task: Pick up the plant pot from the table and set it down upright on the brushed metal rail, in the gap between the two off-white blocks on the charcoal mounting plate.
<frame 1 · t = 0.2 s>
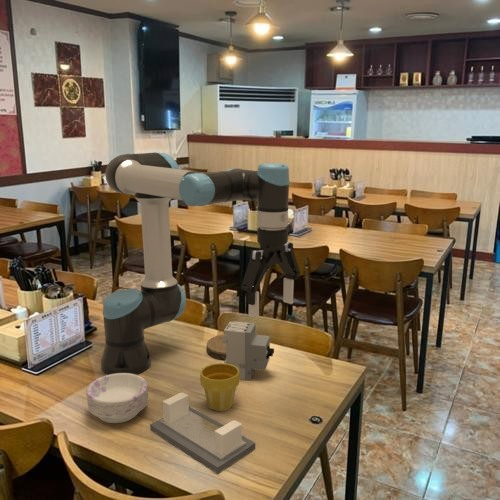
hand: (271, 309, 130), 27 cm above the table, tool pointing down, fingers open, 13 cm apart
wood slice: (230, 352, 171), on the table
mounting plate: (201, 438, 122), on the table
plant pot: (220, 405, 137), on the table
mounted modules: (200, 421, 121), on the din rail, point 5 cm above the table
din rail: (201, 432, 122), on the mounting plate, point 2 cm above the table
circuit breaker: (249, 374, 154), on the table
paper bowls: (119, 414, 133), on the table
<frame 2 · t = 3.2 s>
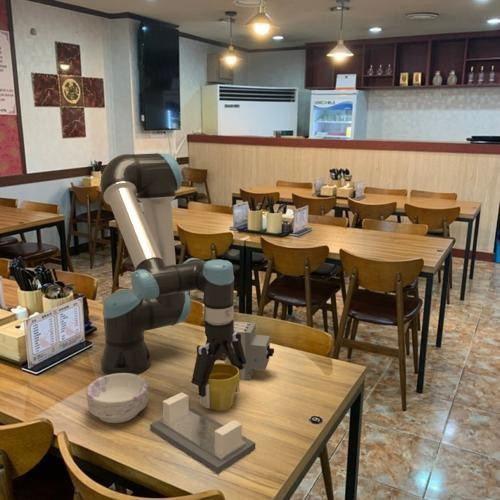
hand: (220, 398, 137), 2 cm above the table, tool pointing down, fingers closed on plant pot, 10 cm apart
plant pot: (220, 405, 137), on the table, touching gripper
everything else where it was.
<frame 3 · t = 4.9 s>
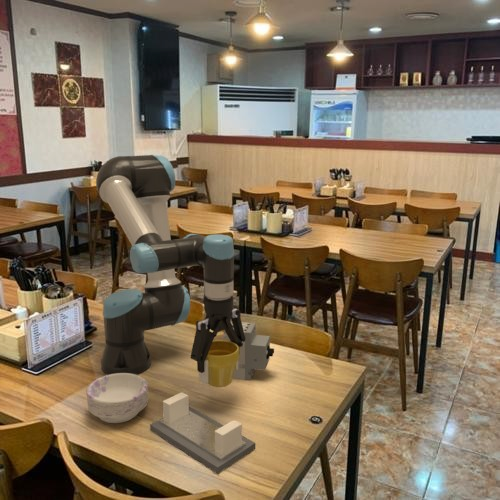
hand: (219, 374, 136), 8 cm above the table, tool pointing down, fingers closed on plant pot, 10 cm apart
plant pot: (219, 382, 136), point 6 cm above the table, touching gripper
everything else where it was.
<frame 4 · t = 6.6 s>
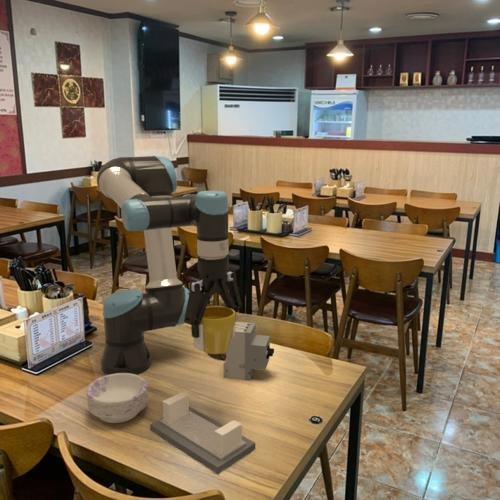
hand: (214, 342, 128), 20 cm above the table, tool pointing down, fingers closed on plant pot, 10 cm apart
plant pot: (215, 349, 129), point 18 cm above the table, touching gripper
everything else where it was.
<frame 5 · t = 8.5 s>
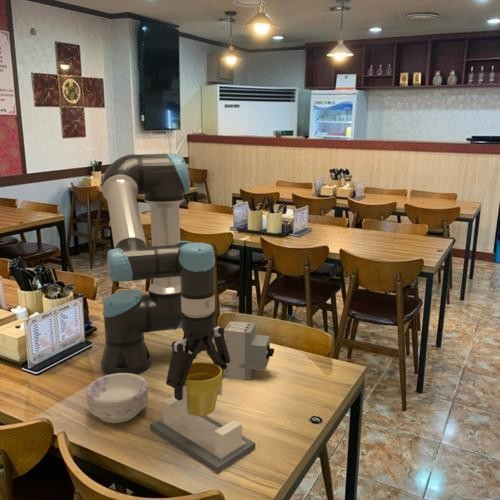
hand: (200, 401, 120), 10 cm above the table, tool pointing down, fingers closed on plant pot, 10 cm apart
plant pot: (200, 409, 120), point 8 cm above the table, touching gripper
everything else where it was.
when the fingers open (5 cm above the table, at t = 10.1 s): plant pot drops 1 cm, resting on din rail.
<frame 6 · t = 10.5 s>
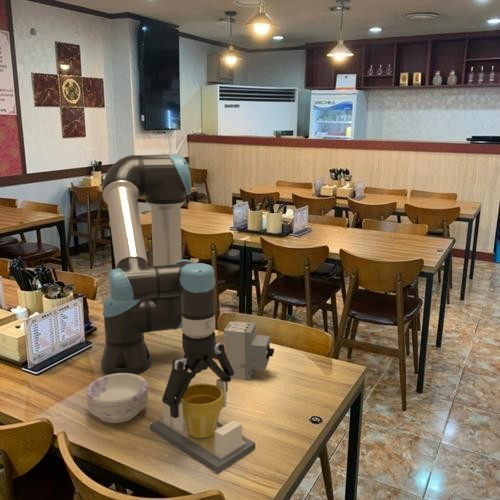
hand: (200, 416, 121), 6 cm above the table, tool pointing down, fingers open, 13 cm apart
plant pot: (201, 431, 122), point 2 cm above the table, touching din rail
everything else where it was.
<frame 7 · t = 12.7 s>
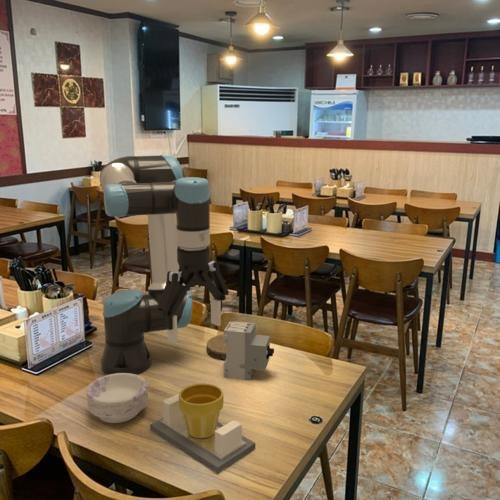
hand: (195, 332, 122), 25 cm above the table, tool pointing down, fingers open, 13 cm apart
nothing on the table moved.
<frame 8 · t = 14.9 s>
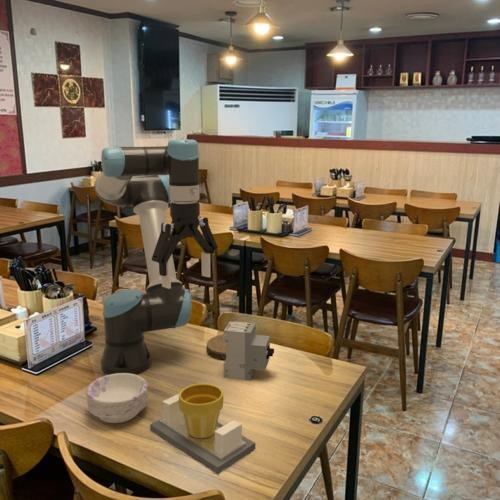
hand: (187, 281, 135), 33 cm above the table, tool pointing down, fingers open, 13 cm apart
nothing on the table moved.
at the end: plant pot 0.3 cm off-centre on the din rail, point 1.9 cm above the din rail's base; plant pot tilted 0°; the gripper is holding nothing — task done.
